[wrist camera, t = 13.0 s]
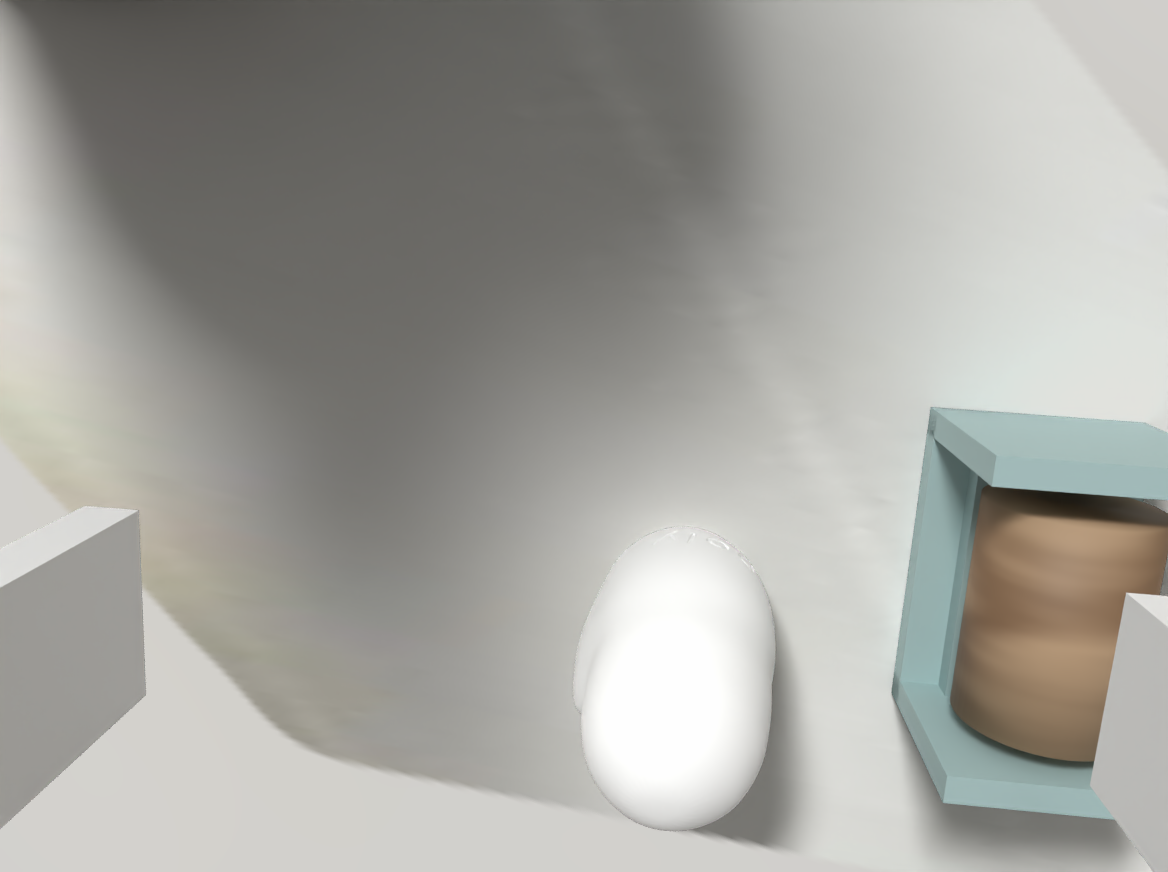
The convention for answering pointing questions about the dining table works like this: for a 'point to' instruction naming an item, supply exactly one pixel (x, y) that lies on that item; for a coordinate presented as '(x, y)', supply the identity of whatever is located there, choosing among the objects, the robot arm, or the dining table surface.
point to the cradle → (940, 575)
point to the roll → (1050, 613)
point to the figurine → (676, 679)
